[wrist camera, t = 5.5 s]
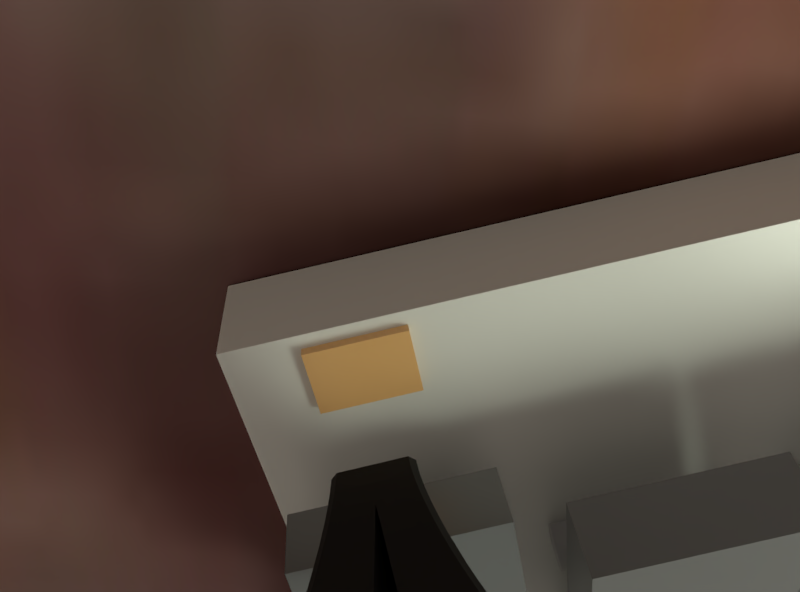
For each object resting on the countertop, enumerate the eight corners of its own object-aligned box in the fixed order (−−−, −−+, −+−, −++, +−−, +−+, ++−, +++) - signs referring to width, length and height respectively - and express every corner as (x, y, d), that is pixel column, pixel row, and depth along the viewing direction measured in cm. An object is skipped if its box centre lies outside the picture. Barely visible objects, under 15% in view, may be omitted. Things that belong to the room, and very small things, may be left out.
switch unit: (934, 121, 16) (1083, 186, 13) (862, 541, 22) (948, 648, 19) (228, 285, 16) (209, 388, 13) (366, 653, 23) (375, 776, 20)
